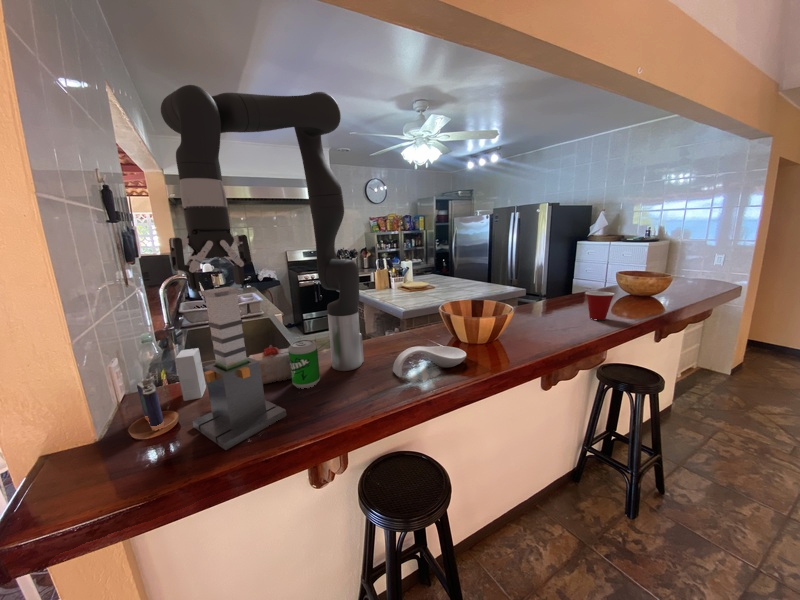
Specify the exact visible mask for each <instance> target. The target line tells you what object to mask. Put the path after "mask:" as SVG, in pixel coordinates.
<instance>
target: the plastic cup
mask: <svg viewBox="0 0 800 600" xmlns="http://www.w3.org/2000/svg"><path fill="white" fill-rule="evenodd" d="M615 294H616V293H615V292H609V291H585V295H586V300H587V307H588V313H589V314H588V315H589V319H590V318H592V319H597V320H604V319H605V320H606V319H607V315H608V313H609V310H610V306H611V303H612V301H613V299H614V296H615ZM592 319H591V320H592ZM605 320H604V321H605Z"/></svg>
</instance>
